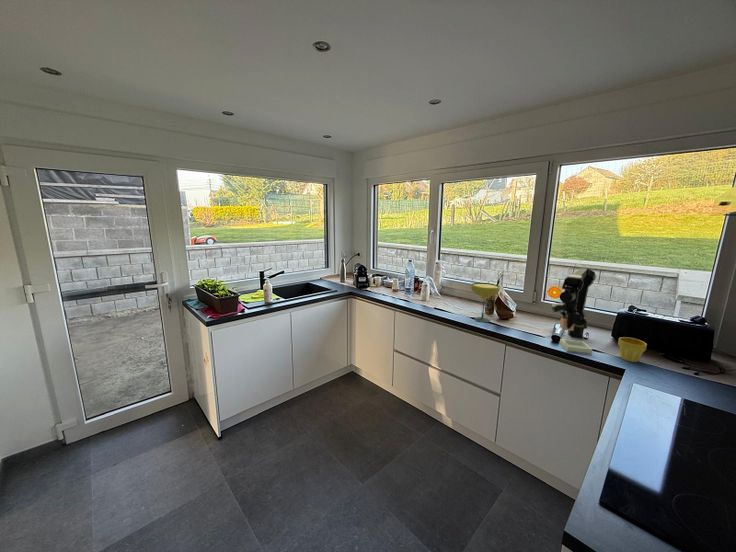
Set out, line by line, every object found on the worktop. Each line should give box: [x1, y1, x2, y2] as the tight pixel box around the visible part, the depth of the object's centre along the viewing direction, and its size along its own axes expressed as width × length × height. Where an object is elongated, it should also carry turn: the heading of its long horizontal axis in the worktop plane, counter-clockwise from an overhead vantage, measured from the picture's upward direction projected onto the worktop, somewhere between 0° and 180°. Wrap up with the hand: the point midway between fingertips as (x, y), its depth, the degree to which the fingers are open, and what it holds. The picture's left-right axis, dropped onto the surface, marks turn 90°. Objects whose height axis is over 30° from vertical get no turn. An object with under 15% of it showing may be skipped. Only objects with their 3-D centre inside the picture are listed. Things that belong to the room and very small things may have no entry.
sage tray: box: [559, 338, 593, 356], centre depth 156 cm, size 11×11×3 cm
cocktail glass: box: [470, 282, 501, 324], centre depth 199 cm, size 18×18×25 cm
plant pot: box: [617, 336, 648, 363], centre depth 144 cm, size 10×10×10 cm
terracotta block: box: [559, 317, 574, 331], centre depth 158 cm, size 5×5×5 cm
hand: (566, 326), depth 158 cm, fingers closed on terracotta block, 5 cm apart
